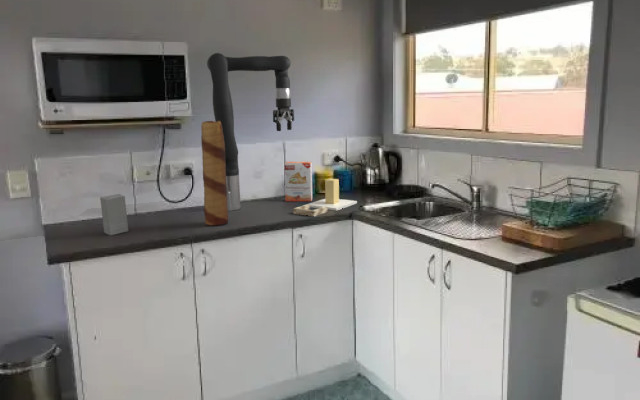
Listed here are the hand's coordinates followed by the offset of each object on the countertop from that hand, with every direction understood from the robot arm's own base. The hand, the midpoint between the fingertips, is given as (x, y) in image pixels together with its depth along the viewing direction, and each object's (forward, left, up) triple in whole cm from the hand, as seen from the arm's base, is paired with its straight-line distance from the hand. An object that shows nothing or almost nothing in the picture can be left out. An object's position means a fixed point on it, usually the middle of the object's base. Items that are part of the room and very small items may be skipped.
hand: (284, 130), depth 259 cm
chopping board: (+10, -22, -38) cm, 45 cm away
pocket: (-9, -22, -38) cm, 45 cm away
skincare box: (-81, +28, -38) cm, 94 cm away
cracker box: (+11, 0, -38) cm, 40 cm away
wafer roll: (-48, +2, -38) cm, 61 cm away
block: (+10, -22, -37) cm, 44 cm away
